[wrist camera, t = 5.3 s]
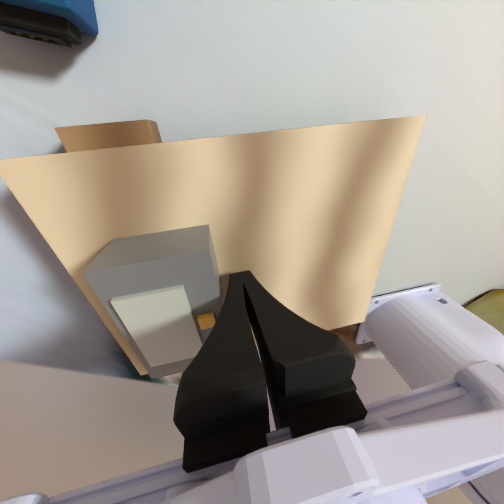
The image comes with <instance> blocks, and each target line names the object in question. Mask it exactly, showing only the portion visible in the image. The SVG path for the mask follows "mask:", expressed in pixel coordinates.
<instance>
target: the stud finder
mask: <svg viewBox="0 0 504 504" xmlns="http://www.w3.org/2000/svg"><path fill="white" fill-rule="evenodd" d="M82 273H83V275H84V276H85V278H86V280H87V281H88V283H89V284H90V286H91V287H92V289H93V290H94V292H95V293H96V295H97V296H98V298H99V299H100V301H101V302H102V304H103V305H104V307H105V308H106V310H107V311H108V313H109V314H110V316H111V317H112V319H113V320H114V322H115V323H116V325H117V326H118V328H119V329H120V331H121V333H122V334H123V336H124V337H125V339H126V340H127V342H128V343H129V345H130V346H131V348H132V349H133V351H134V352H135V354H136V355H137V357H138V358H139V360H140V361H141V363H142V364H143V366H144V367H145V369H146V370H147V372H148V373H149V375H150V376H151V378H152V379H155V378H159V377H163V376H167V375H171V374H175V373H180V372H184V371H185V370H186V368H187V367H188V366H189V364H190V363H191V362H192V360H193V359H194V358H195V356H196V355H197V353H198V352H199V350H200V349H201V347H202V346H203V344H204V342H205V341H206V339H207V338H208V336H209V334H210V332H211V330H212V328H213V326H214V325H215V323H216V320H217V318H218V316H219V314H220V311H221V309H222V306H223V303H224V300H225V297H224V292H223V288H222V283H221V278H220V274H219V269H218V264H217V260H216V255H215V250H214V246H213V241H212V236H211V232H210V227H209V224H207V225H201V226H194V227H188V228H181V229H175V230H169V231H162V232H156V233H149V234H143V235H136V236H130V237H124V238H117V239H112V240H111V242H110V243H109V244H108V245H107V246H106V247H105V248H104V249H103V250H102V251H101V252H100V253H99V255H98V256H97V257H96V258H95V259H94V260H93V261H92V262H91V263H90V264H89V265H88V267H87V268H86V269H85V270H84V271H83V272H82Z"/></svg>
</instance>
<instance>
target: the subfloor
mask: <svg viewBox="0 0 504 504" xmlns="http://www.w3.org/2000/svg"><path fill="white" fill-rule="evenodd" d="M425 118H426V115H423V116H413V117H403V118H393V119H383V120H373V121H364V122H354V123H346V124H336V125H326V126H317V127H307V128H298V129H288V130H279V131H269V132H259V133H250V134H240V135H231V136H221V137H212V138H202V139H192V140H183V141H173V142H164V143H162V141H161V137H160V134H159V130H158V127H157V123H156V122H154V121H150V120H136V121H125V122H114V123H103V124H92V125H81V126H70V127H58V128H55V130H56V132H57V134H58V136H59V138H60V140H61V142H62V144H63V146H64V148H65V150H66V152H67V153H58V154H49V155H39V156H30V157H20V158H11V159H2V160H0V176H1V177H2V179H3V180H4V182H5V183H6V184H7V186H8V187H9V189H10V190H11V192H12V193H13V194H14V196H15V197H16V199H17V200H18V201H19V203H20V204H21V206H22V207H23V209H24V210H25V211H26V213H27V214H28V216H29V217H30V219H31V220H32V221H33V223H34V224H35V226H36V227H37V228H38V230H39V231H40V233H41V234H42V236H43V237H44V238H45V240H46V241H47V243H48V244H49V245H50V247H51V248H52V250H53V251H54V253H55V254H56V255H57V257H58V258H59V260H60V261H61V262H62V264H63V265H64V267H65V268H66V270H67V271H68V272H69V274H70V275H71V277H72V278H73V280H74V281H75V282H76V284H77V285H78V287H79V288H80V289H81V291H82V292H83V294H84V295H85V297H86V298H87V299H88V301H89V302H90V304H91V305H92V306H93V308H94V309H95V311H96V312H97V314H98V315H99V316H100V318H101V319H102V321H103V322H104V323H105V325H106V326H107V328H108V329H109V331H110V332H111V333H112V335H113V336H114V338H115V339H116V340H117V342H118V343H119V345H120V346H121V348H122V349H123V350H124V352H125V353H126V355H127V356H128V358H129V359H130V360H131V362H132V363H133V365H134V366H135V367H136V369H137V370H138V372H139V373H140V375H144V374H148V372H147V370H146V369H145V367H144V366H143V364H142V363H141V361H140V360H139V358H138V357H137V355H136V354H135V352H134V351H133V349H132V348H131V346H130V345H129V343H128V342H127V340H126V339H125V337H124V336H123V334H122V333H121V331H120V329H119V328H118V326H117V325H116V323H115V322H114V320H113V319H112V317H111V316H110V314H109V313H108V311H107V310H106V308H105V307H104V305H103V304H102V302H101V301H100V299H99V298H98V296H97V295H96V293H95V292H94V290H93V289H92V287H91V286H90V284H89V283H88V281H87V280H86V278H85V276H84V275H83V273H82V272H83V271H84V270H85V269H86V268H87V267H88V265H89V264H90V263H91V262H92V261H93V260H94V259H95V258H96V257H97V256H98V255H99V253H100V252H101V251H102V250H103V249H104V248H105V247H106V246H107V245H108V244H109V243H110V242H111V240H112V239H117V238H124V237H130V236H136V235H143V234H149V233H156V232H162V231H169V230H175V229H181V228H188V227H194V226H201V225H207V224H209V227H210V232H211V236H212V241H213V246H214V250H215V255H216V260H217V264H218V269H219V274H220V278H221V283H222V288H223V292H224V297H226V293H227V289H228V284H229V275H230V274H231V273H236V272H242V271H247V270H250V271H251V272H252V274H253V275H254V276H255V278H256V279H257V280H258V281H259V282H260V284H261V285H262V286H263V287H264V288H265V289H266V290H267V291H268V292H269V293H270V294H271V295H272V296H273V297H274V298H276V299H277V300H278V301H279V302H280V303H282V304H283V305H284V306H285V307H287V308H288V309H290V310H291V311H292V312H294V313H295V314H297V315H299V316H300V317H302V318H304V319H305V320H307V321H308V322H310V323H312V324H314V325H316V326H318V327H320V328H322V329H325V330H331V329H336V328H340V327H344V326H348V325H352V324H356V323H361V322H364V321H365V317H366V314H367V311H368V308H369V304H370V301H371V298H372V294H373V291H374V288H375V284H376V281H377V278H378V274H379V271H380V268H381V264H382V261H383V258H384V254H385V251H386V248H387V244H388V241H389V238H390V234H391V231H392V228H393V224H394V221H395V218H396V214H397V211H398V208H399V204H400V201H401V198H402V194H403V191H404V188H405V184H406V181H407V178H408V174H409V171H410V168H411V165H412V161H413V158H414V155H415V151H416V148H417V145H418V141H419V138H420V135H421V131H422V128H423V125H424V121H425ZM250 326H251V325H250ZM251 329H252V328H251ZM252 333H253V331H252ZM253 337H254V334H253ZM254 340H255V337H254ZM255 344H256V347H257V343H256V340H255Z"/></svg>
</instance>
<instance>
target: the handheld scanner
mask: <svg viewBox="0 0 504 504" xmlns="http://www.w3.org/2000/svg"><path fill="white" fill-rule="evenodd" d="M0 30H1V31H3V32H5V33H7V34H11V35H16V36H20V37H25V38H29V39H34V40H39V41H43V42H48V43H52V44H57V45H62V46H66V47H71V44H76V45H79V44H82V42H81V37H80V33H79V32H83V33H87V34H91V35H98V26H97V20H96V14H95V8H94V2H93V0H0Z"/></svg>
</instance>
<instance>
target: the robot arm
mask: <svg viewBox="0 0 504 504" xmlns="http://www.w3.org/2000/svg"><path fill="white" fill-rule="evenodd" d="M441 287H442V286H441V285H440V284H438V283H435V284H431V285H426V286H422V287H418V288H413V289H409V290H404V291H400V292H395V293H391V294H386V295H382V296H377V297H373V298H371V301H370V304H369V308H368V311H367V314H366V317H365V321H364V322H361V323H360V326H359V329H358V333H357V336H356V340H355V342H356V343H357V344H363V343H367V342H371V341H373V343H374V344H375V345H376V346H377V348H378V349H379V350H380V351H381V352H382V354H383V355H384V356H385V357H386V359H387V360H388V361H389V362H390V364H391V365H392V366H393V367H394V369H395V370H396V371H397V372H398V373H399V375H400V376H401V377H402V378H403V380H404V381H405V382H406V383H407V384H408V385H409V387H410V388H411V389H412V390H411V391H407V392H404V393H401V394H397V395H394V396H390V397H387V398H384V399H380V400H377V401H373V402H370V403H367V404H363V403H362V402H361V400H360V398H359V396H358V395H357V393H356V386H355V384H354V382H353V381H352V379H351V377H352V374H353V370H354V367H355V361H356V360H355V358H354V356H353V354H352V353H351V351H350V350H349V348H348V347H347V346H346V345H345V343H344V342H343V341H342V340H341V339H340V337H339V336H338V335H336V334H334V333H331V332H329V331H327V330H325V329H322V328H320V327H318V326H316V325H314V324H312V323H310V322H308V321H307V320H305V319H304V318H302V317H300V316H299V315H297V314H295V313H294V312H292V311H291V310H290V309H288V308H287V307H285V306H284V305H283V304H282V303H280V302H279V301H278V300H277V299H276V298H274V297H273V296H272V295H271V294H270V293H269V292H268V291H267V290H266V289H265V288H264V287H263V286H262V285H261V284H260V282H259V281H258V280H257V279H256V278H255V276H254V275H253V274H252V272H251V271H250V270H247V271H242V272H236V273H231V274H230V275H229V284H228V289H227V293H226V297H225V300H224V303H223V306H222V309H221V311H220V314H219V316H218V318H217V320H216V323H215V325H214V326H213V328H212V330H211V332H210V334H209V336H208V338H207V339H206V341H205V342H204V344H203V346H202V347H201V349H200V350H199V352H198V353H197V355H196V356H195V358H194V359H193V360H192V362H191V363H190V364H189V366H188V367H187V368H186V370H185V371H184V372H183V374H182V377H181V380H180V383H179V387H178V391H177V396H176V402H175V410H174V418H173V420H174V423H175V425H176V427H177V428H178V429H179V431H180V432H181V434H182V435H183V436H184V438H185V440H184V453H183V458H181V459H177V460H174V461H171V462H167V463H164V464H161V465H157V466H154V467H151V468H147V469H144V470H140V471H137V472H133V473H130V474H127V475H123V476H120V477H117V478H113V479H110V480H106V481H103V482H100V483H96V484H93V485H90V486H86V487H83V488H79V489H76V490H73V491H70V492H66V493H62V494H59V495H56V496H52V497H49V498H48V497H47V496H46V495H45V494H42V493H38V492H32V493H25V494H21V495H18V496H14V497H11V498H8V499H4V500H1V501H0V504H427V502H426V501H425V498H428V497H430V496H433V495H435V494H437V493H440V492H442V491H445V490H448V489H450V488H452V487H455V486H458V487H459V488H460V490H461V491H462V492H463V493H464V494H465V495H466V497H467V498H468V499H469V500H470V501H471V502H472V503H473V504H504V335H502V334H501V333H500V332H499V331H498V330H496V329H495V328H494V327H492V326H491V325H489V324H488V323H486V322H485V321H483V320H482V319H480V318H479V317H477V316H476V315H474V314H473V313H471V312H470V311H468V310H467V309H465V308H464V307H462V306H461V305H459V304H458V303H456V302H455V301H453V300H452V299H450V298H449V297H447V296H446V295H444V294H442V293H441V292H439V291H440V289H441ZM250 325H251V326H250ZM251 328H252V329H251ZM252 331H253V333H252ZM253 334H254V337H255V340H256V343H257V347H258V350H259V354H260V358H259V354H258V351H257V347H256V344H255V340H254V337H253ZM260 359H261V361H260ZM261 363H262V364H261ZM266 385H267V389H266ZM267 390H268V395H269V399H270V404H271V408H272V413H273V417H274V422H275V427H276V430H275V431H272V432H270V424H269V409H268V399H267Z"/></svg>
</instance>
